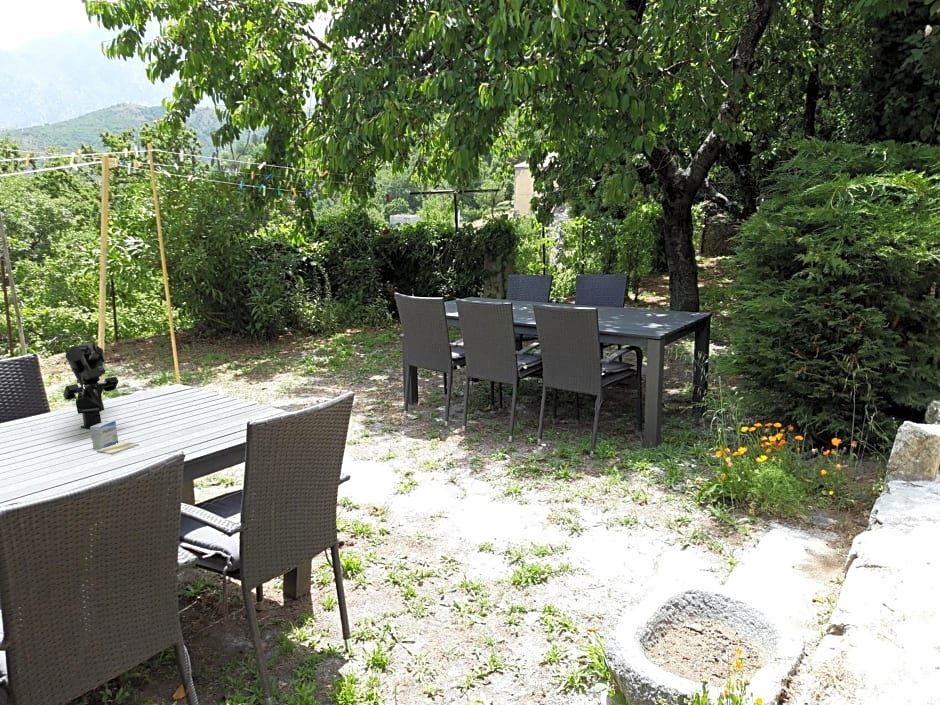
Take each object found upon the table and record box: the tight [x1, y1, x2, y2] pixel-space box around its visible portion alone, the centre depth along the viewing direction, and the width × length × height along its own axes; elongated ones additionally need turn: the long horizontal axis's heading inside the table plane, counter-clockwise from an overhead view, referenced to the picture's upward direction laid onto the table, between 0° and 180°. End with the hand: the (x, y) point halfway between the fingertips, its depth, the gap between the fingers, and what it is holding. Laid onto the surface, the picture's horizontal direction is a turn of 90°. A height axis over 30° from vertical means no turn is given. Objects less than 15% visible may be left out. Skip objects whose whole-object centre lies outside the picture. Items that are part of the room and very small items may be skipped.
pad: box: [96, 441, 140, 456], centre depth 250 cm, size 8×11×1 cm
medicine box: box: [89, 420, 119, 450], centre depth 253 cm, size 8×4×9 cm, turn 168°
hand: (100, 405), depth 263 cm, fingers closed
